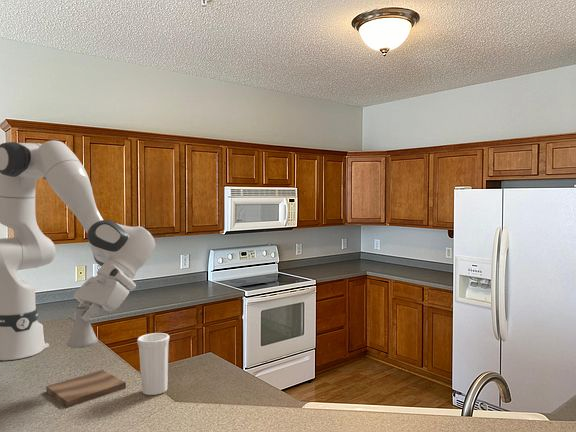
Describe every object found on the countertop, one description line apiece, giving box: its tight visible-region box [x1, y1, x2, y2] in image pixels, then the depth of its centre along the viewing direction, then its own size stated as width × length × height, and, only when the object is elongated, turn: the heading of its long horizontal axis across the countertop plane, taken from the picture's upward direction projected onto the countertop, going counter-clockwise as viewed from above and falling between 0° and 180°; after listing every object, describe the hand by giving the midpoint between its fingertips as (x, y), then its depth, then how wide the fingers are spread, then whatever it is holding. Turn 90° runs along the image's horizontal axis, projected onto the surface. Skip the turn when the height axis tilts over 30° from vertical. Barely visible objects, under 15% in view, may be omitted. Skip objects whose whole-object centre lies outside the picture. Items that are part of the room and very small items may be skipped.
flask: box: [66, 306, 99, 349], centre depth 118 cm, size 7×7×10 cm
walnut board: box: [46, 369, 127, 408], centre depth 118 cm, size 14×15×2 cm
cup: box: [136, 332, 170, 396], centre depth 116 cm, size 8×8×14 cm
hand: (79, 318), depth 117 cm, fingers closed on flask, 3 cm apart
